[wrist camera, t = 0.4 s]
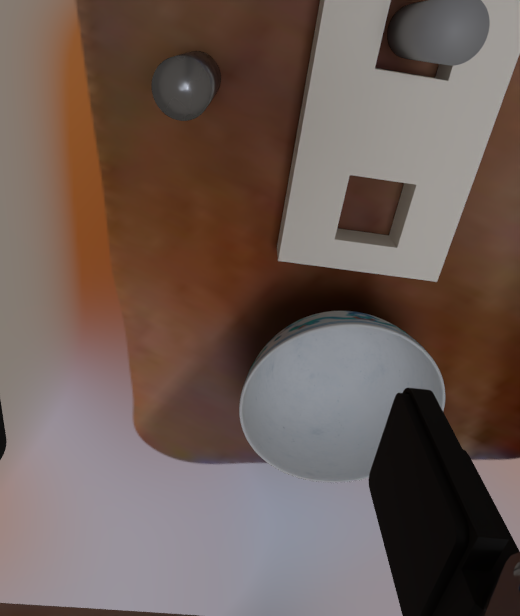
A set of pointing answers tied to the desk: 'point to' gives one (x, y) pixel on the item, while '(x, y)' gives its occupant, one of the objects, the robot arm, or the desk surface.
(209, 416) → the desk surface
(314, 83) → the pin board
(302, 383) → the chinaware
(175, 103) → the steel pin
